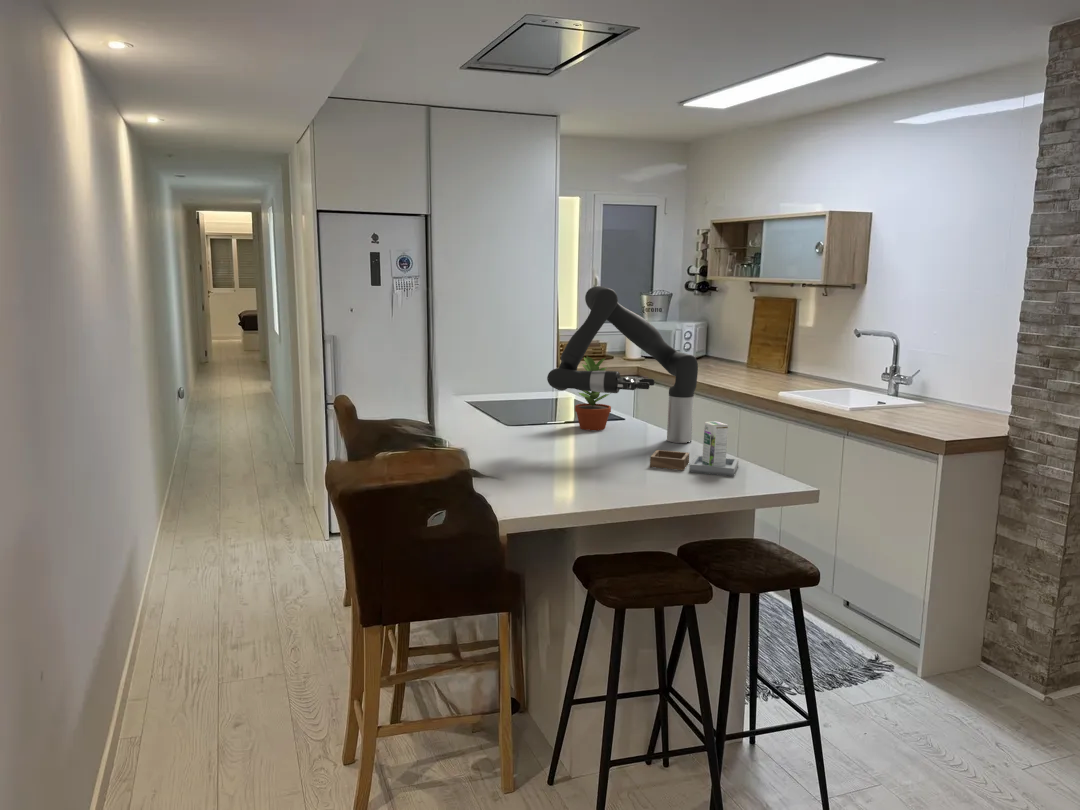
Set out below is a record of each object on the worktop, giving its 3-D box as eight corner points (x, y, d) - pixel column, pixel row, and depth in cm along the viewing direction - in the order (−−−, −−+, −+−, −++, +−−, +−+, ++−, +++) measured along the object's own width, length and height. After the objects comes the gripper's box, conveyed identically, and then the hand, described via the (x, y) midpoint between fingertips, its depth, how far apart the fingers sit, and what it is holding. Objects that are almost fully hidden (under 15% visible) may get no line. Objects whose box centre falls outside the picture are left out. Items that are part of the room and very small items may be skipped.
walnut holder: (656, 459, 276) (656, 449, 275) (688, 462, 272) (689, 452, 272) (649, 467, 266) (650, 456, 265) (683, 470, 262) (684, 459, 261)
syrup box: (701, 465, 266) (703, 421, 264) (716, 463, 268) (719, 420, 266) (710, 469, 261) (712, 425, 258) (726, 468, 263) (728, 424, 260)
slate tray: (695, 462, 273) (696, 455, 273) (738, 466, 269) (738, 458, 268) (689, 472, 260) (689, 464, 260) (733, 476, 256) (734, 468, 255)
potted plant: (616, 426, 332) (618, 353, 327) (601, 433, 319) (604, 356, 313) (583, 422, 339) (585, 351, 333) (567, 429, 325) (569, 354, 320)
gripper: (600, 373, 272) (648, 375, 267) (610, 368, 286) (656, 370, 281) (599, 395, 274) (647, 398, 269) (609, 389, 287) (655, 391, 282)
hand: (651, 384), depth 275 cm, fingers open, 8 cm apart
